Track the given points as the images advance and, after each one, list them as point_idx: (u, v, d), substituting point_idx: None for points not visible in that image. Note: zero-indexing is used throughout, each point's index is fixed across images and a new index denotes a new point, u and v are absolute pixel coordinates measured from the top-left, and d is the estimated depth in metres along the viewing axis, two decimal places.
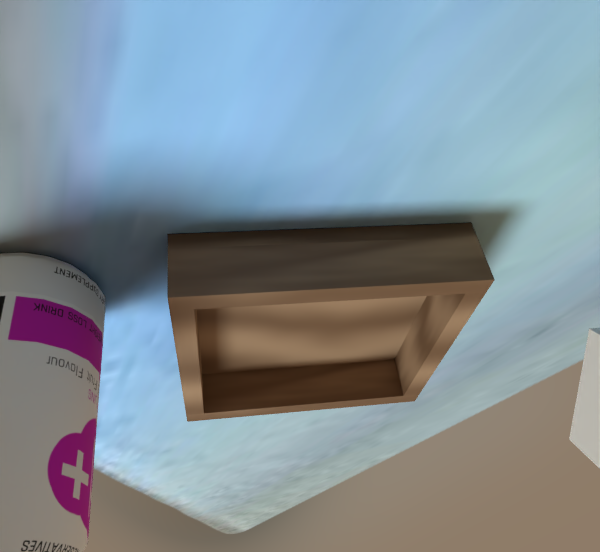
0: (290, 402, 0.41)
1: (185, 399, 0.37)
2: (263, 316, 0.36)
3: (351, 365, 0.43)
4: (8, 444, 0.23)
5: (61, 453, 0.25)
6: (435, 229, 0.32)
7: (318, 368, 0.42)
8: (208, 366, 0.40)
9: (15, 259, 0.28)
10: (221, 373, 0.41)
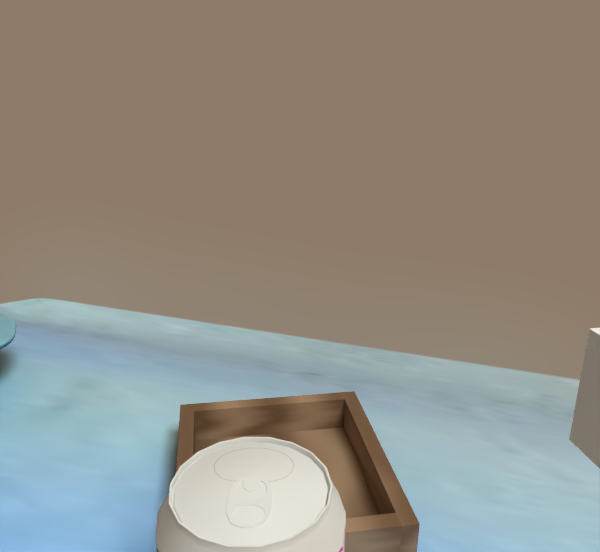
0: (370, 459, 0.44)
1: (362, 529, 0.36)
2: None
3: (352, 447, 0.49)
4: None
5: None
6: None
7: (360, 465, 0.47)
8: None
9: None
10: None
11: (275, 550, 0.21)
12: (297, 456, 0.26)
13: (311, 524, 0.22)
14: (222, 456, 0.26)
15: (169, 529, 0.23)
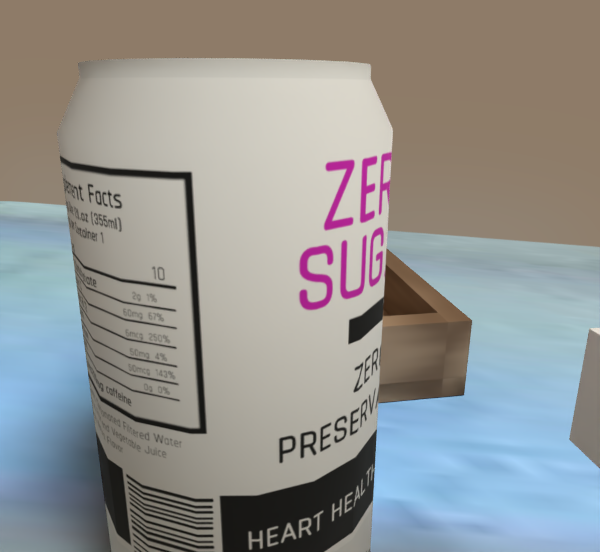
0: (396, 278, 0.33)
1: (393, 325, 0.26)
2: None
3: None
4: None
5: None
6: None
7: None
8: None
9: None
10: None
11: (273, 78, 0.11)
12: None
13: (339, 63, 0.12)
14: None
15: (77, 97, 0.12)
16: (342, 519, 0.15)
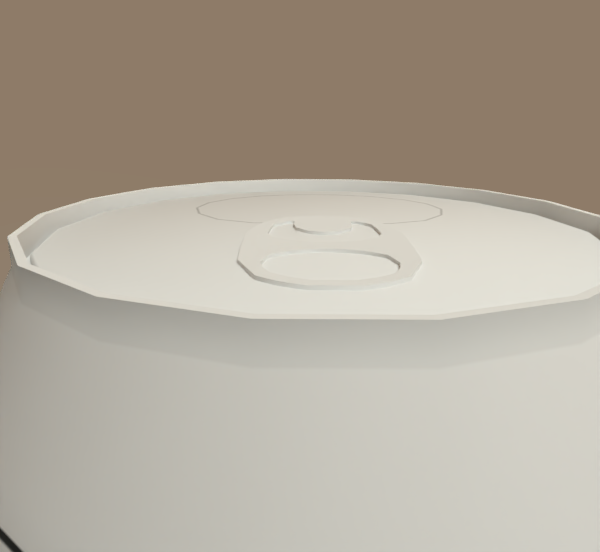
0: None
1: None
2: None
3: None
4: None
5: None
6: None
7: None
8: None
9: None
10: None
11: (512, 358, 0.04)
12: (441, 201, 0.09)
13: None
14: (221, 200, 0.09)
15: None
16: None
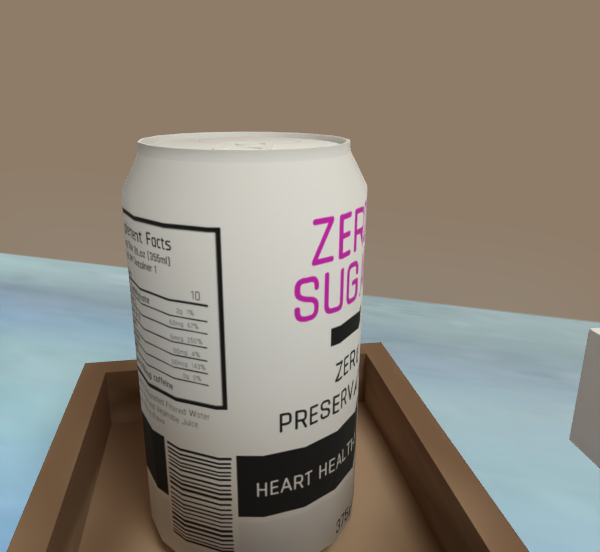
0: (423, 451, 0.23)
1: None
2: None
3: (382, 433, 0.28)
4: None
5: None
6: None
7: (399, 465, 0.26)
8: None
9: None
10: None
11: (277, 162, 0.16)
12: (304, 139, 0.21)
13: (324, 147, 0.17)
14: (209, 139, 0.21)
15: (137, 168, 0.17)
16: (327, 478, 0.20)
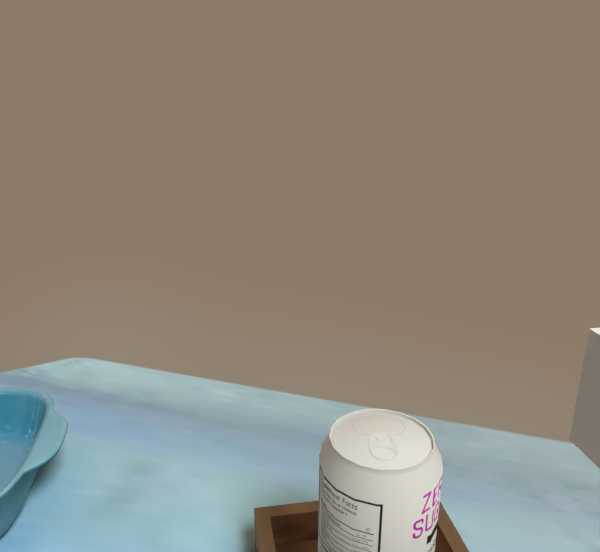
0: None
1: None
2: None
3: None
4: None
5: None
6: None
7: None
8: None
9: None
10: None
11: (407, 472, 0.35)
12: (405, 421, 0.40)
13: (426, 458, 0.35)
14: (355, 421, 0.40)
15: (335, 462, 0.36)
16: None
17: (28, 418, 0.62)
